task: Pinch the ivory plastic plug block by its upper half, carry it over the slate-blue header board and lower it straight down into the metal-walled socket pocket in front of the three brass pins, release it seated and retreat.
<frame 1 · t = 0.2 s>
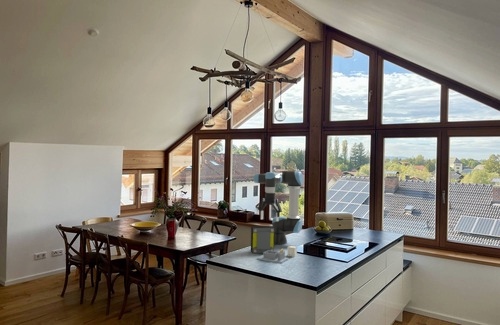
hand: (269, 220, 280), 28 cm above the countertop, fingers open, 13 cm apart
plug: (292, 255, 284), on the countertop
electrical component: (262, 252, 294), on the countertop
header board: (272, 259, 272), on the countertop
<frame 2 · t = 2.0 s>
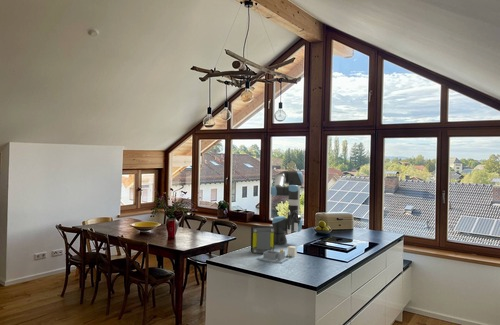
hand: (292, 232, 284), 18 cm above the countertop, fingers open, 13 cm apart
nothing on the countertop moved.
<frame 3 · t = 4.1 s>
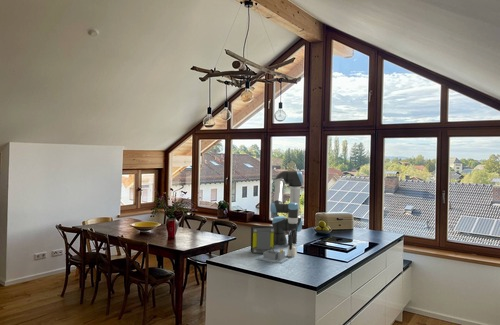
hand: (292, 252, 284), 2 cm above the countertop, fingers closed on plug, 4 cm apart
plug: (292, 255, 284), on the countertop, touching gripper
everything else where it was.
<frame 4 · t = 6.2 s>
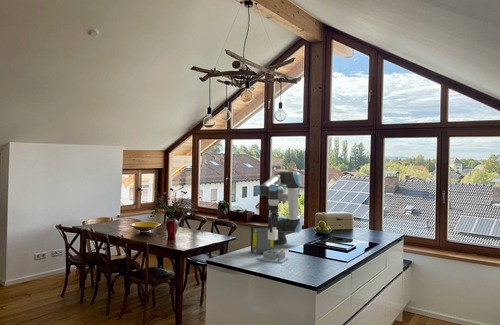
hand: (272, 236, 273), 17 cm above the countertop, fingers closed on plug, 4 cm apart
plug: (272, 239, 273), point 15 cm above the countertop, touching gripper
everything else where it was.
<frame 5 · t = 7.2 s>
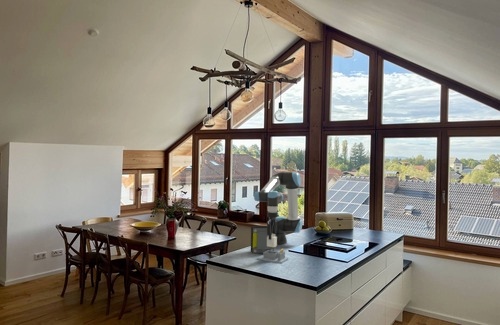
hand: (271, 243, 272), 12 cm above the countertop, fingers closed on plug, 4 cm apart
plug: (271, 246, 272), point 10 cm above the countertop, touching gripper
everything else where it was.
when the fingers open (7 cm above the countertop, at t = 8.3 s): plug drops 4 cm, resting on header board.
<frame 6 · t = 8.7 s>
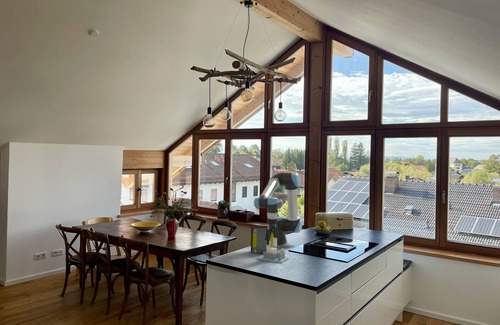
hand: (271, 247, 273), 8 cm above the countertop, fingers open, 11 cm apart
plug: (271, 257, 273), point 1 cm above the countertop, touching header board
everything else where it was.
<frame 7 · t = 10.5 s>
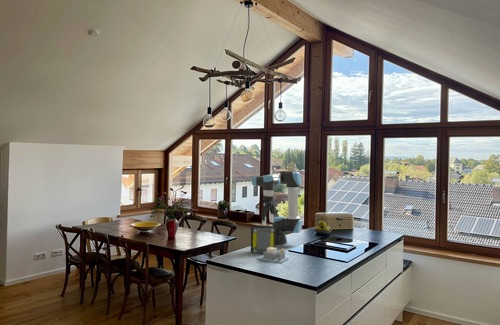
hand: (267, 223, 276), 26 cm above the countertop, fingers open, 13 cm apart
nothing on the countertop moved.
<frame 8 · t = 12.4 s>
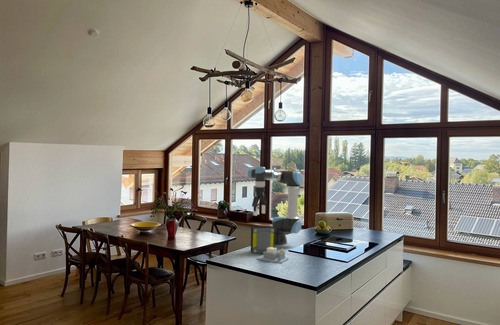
hand: (259, 214, 282), 32 cm above the countertop, fingers open, 13 cm apart
nothing on the countertop moved.
at the end: plug 0.0 cm from the target spot on the header board, point 1.3 cm above the header board's base; plug tilted 0°; the gripper is holding nothing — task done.
